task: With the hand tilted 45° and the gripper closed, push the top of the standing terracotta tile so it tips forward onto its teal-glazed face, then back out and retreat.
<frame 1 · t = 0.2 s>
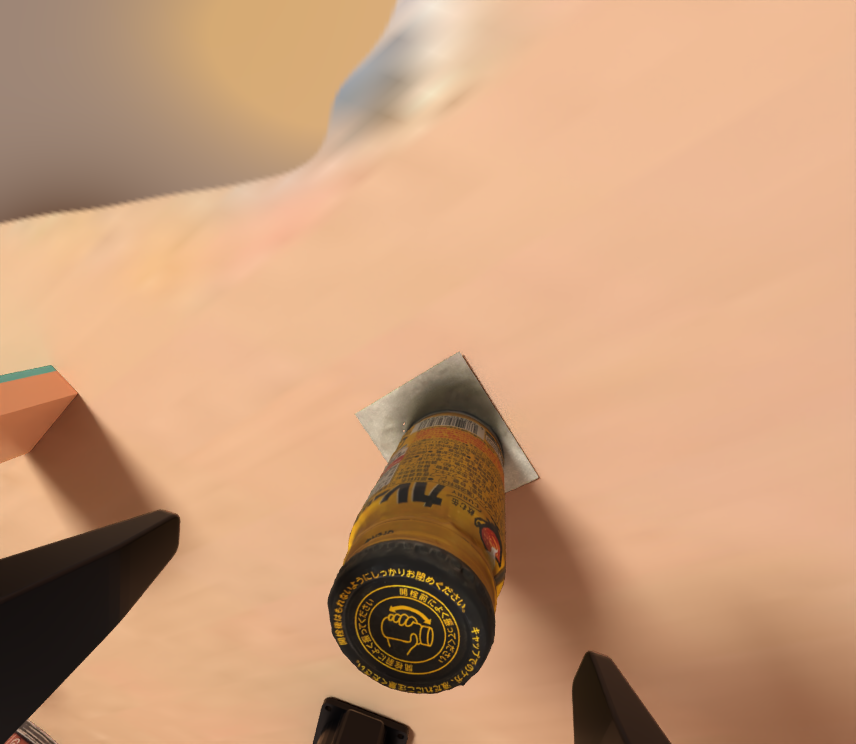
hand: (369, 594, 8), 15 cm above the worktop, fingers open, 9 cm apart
condiment: (445, 442, 24), on the worktop
tile: (39, 410, 28), on the worktop
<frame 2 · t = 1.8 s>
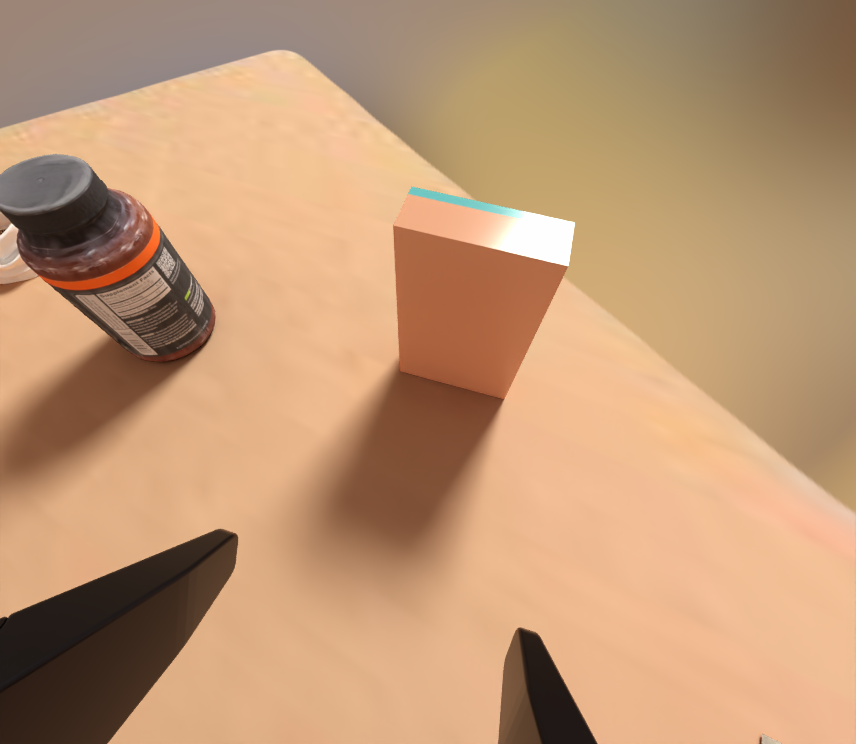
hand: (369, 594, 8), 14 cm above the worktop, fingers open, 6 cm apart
tile: (456, 369, 27), on the worktop
supplement bottle: (174, 329, 28), on the worktop
whipped cream: (30, 254, 31), on the worktop
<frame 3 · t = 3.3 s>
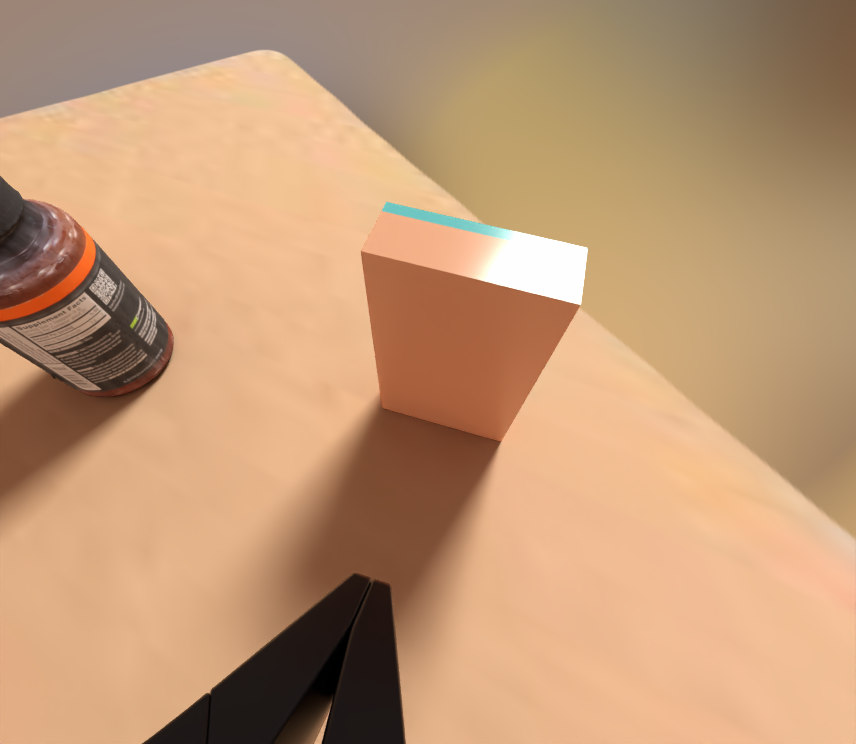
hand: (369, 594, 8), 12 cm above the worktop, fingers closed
tile: (446, 405, 23), on the worktop
supplement bottle: (127, 358, 24), on the worktop
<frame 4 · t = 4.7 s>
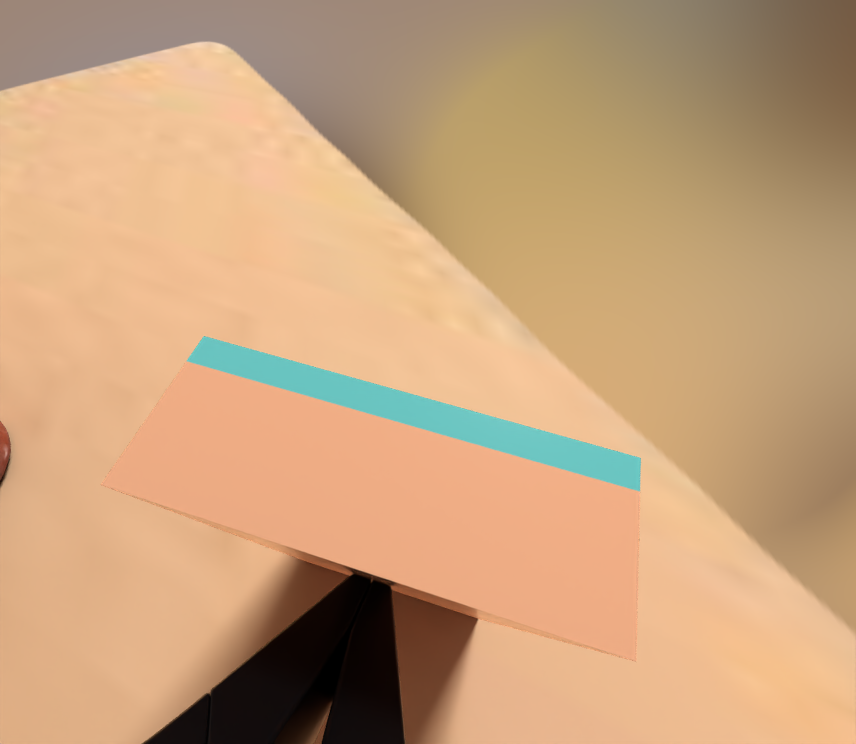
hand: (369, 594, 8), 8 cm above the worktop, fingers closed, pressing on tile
tile: (399, 554, 16), on the worktop, touching gripper
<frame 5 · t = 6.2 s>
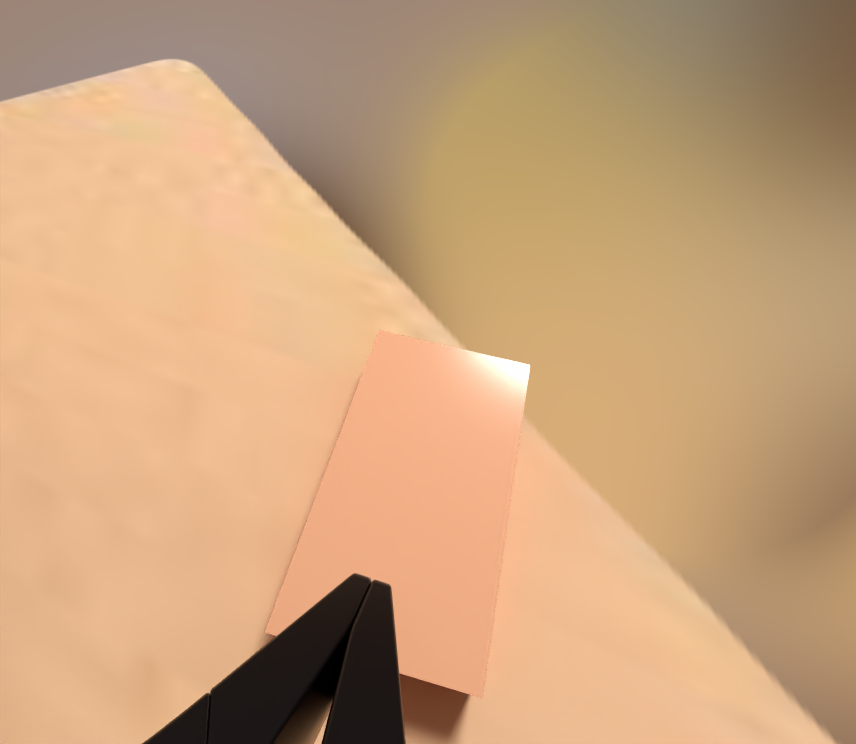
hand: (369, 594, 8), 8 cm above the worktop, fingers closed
tile: (374, 659, 13), point 1 cm above the worktop, tilted 90°
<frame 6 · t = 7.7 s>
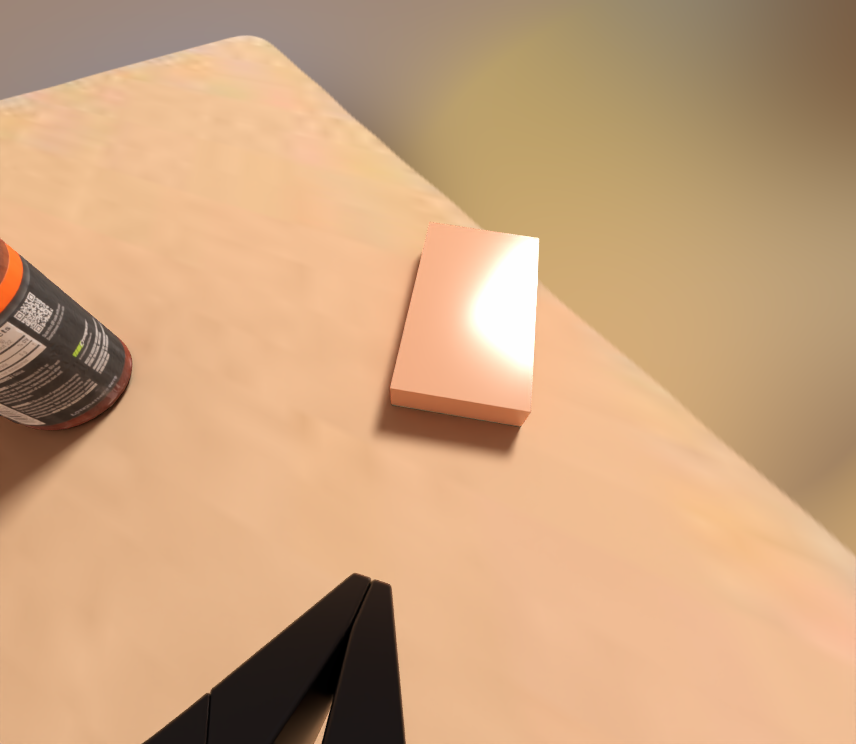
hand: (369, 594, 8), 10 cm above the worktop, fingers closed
tile: (457, 409, 21), point 1 cm above the worktop, tilted 90°
supplement bottle: (81, 384, 22), on the worktop
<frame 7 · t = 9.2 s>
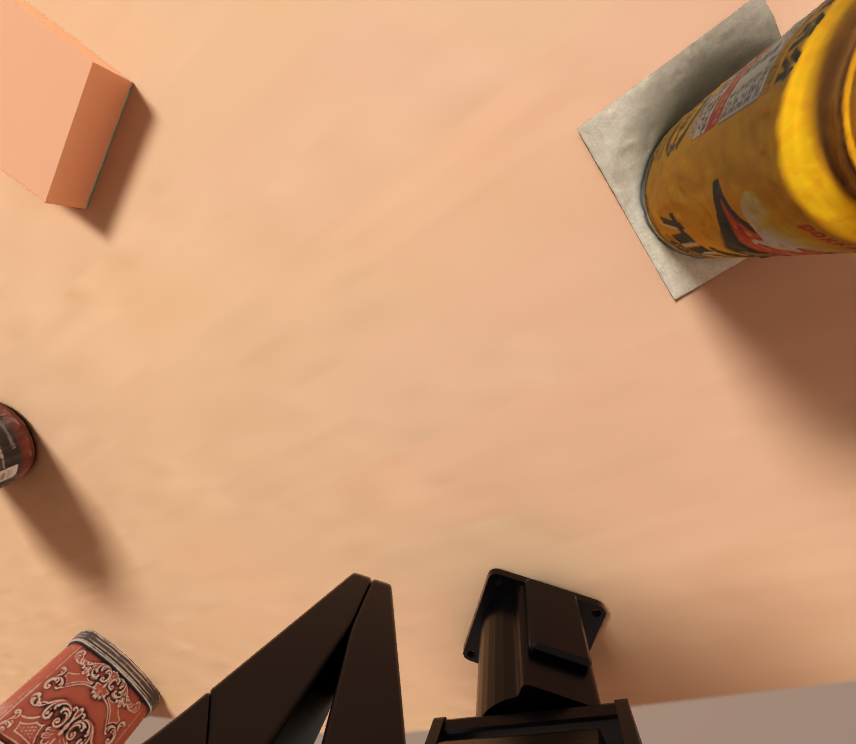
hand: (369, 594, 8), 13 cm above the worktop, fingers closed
condiment: (708, 163, 17), on the worktop
tile: (93, 144, 20), point 1 cm above the worktop, tilted 90°
supplement bottle: (6, 437, 27), on the worktop
lighter: (121, 666, 31), on the worktop
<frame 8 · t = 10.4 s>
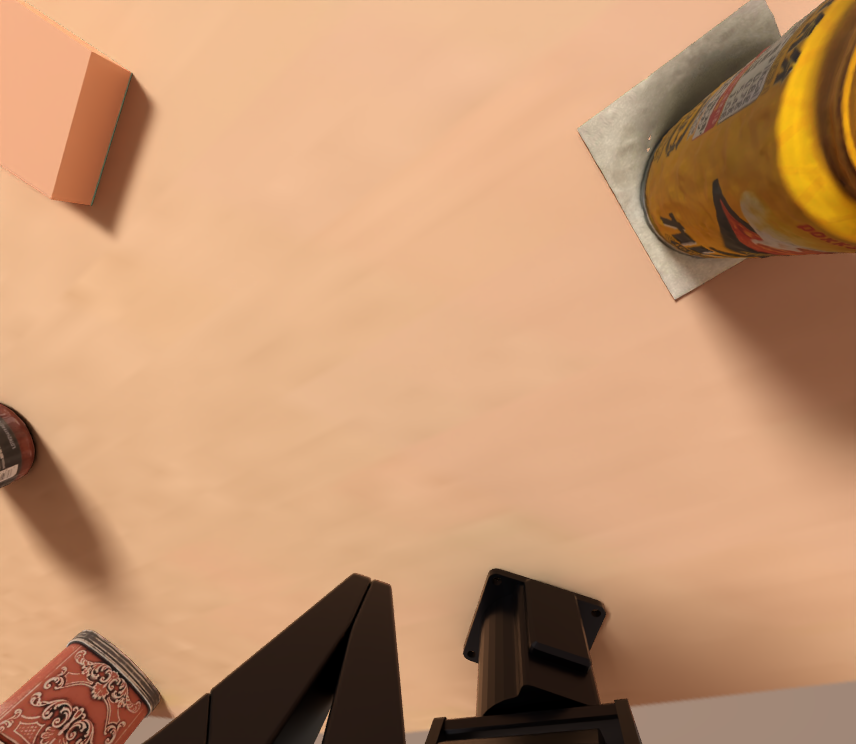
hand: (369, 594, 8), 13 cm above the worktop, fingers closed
condiment: (708, 163, 17), on the worktop
tile: (95, 137, 20), point 1 cm above the worktop, tilted 90°
supplement bottle: (6, 437, 27), on the worktop
lighter: (121, 666, 31), on the worktop
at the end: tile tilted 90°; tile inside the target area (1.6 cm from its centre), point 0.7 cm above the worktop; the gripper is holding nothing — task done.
